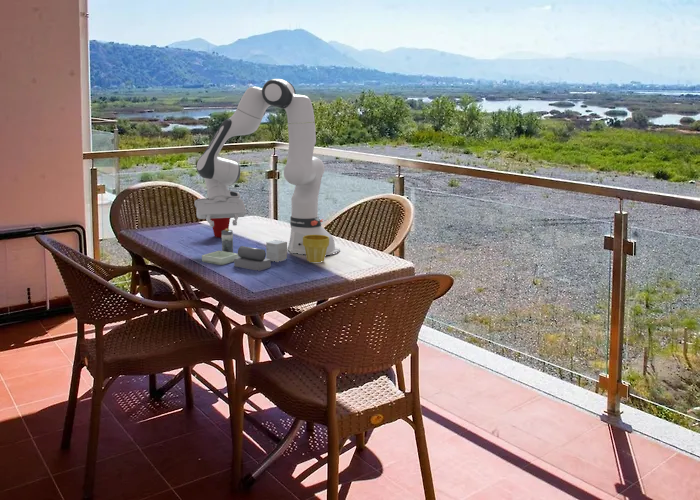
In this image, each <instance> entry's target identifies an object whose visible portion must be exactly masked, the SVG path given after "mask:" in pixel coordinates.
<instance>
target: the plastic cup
mask: <svg viewBox="0 0 700 500" xmlns="http://www.w3.org/2000/svg"><path fill="white" fill-rule="evenodd" d="M210 220H211V221H214V226H213V227H212V231H213V236H214V237H215V238H221V239H222V230H225V229H229V228H230V220H231V218H211V219H210ZM229 230H230V229H229Z"/></svg>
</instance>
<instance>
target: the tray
mask: <svg viewBox="0 0 700 500" xmlns="http://www.w3.org/2000/svg"><path fill="white" fill-rule="evenodd" d="M238 257H239V256H238V252H237V253H236V252H233V253H231V252H225V251H222V250H216V251H212V252H209V253H205V254H202V255H201V262H202V263H207V264H212V265H213V264H214V265H219V266H223V265H227V264H230V263H234V259H235V258H238Z"/></svg>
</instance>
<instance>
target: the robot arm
mask: <svg viewBox="0 0 700 500" xmlns="http://www.w3.org/2000/svg"><path fill="white" fill-rule="evenodd" d="M296 93H297V92H296V88H295V87H294V85H293V84H292V83H291V82H290V81H288V80H285V79H282V78H272V79H269V80H268V81H266V82H265V83H264V85H263V87H262V88H261V87H259V86H250V87H248V88H247V89H246V90H245V92H244V93H243V95H242V96H241V99H240V101H239V102H238V105H237V107H236V109H235V111H234V113H233V114H232V115H231V116H230V117H229V118H226V119H224V120H223V121H222V122H221V124H220V126H219V127H218V128H217V130H216V132H215V133H214V135H213V137H212V139H211V140H210V142H209V144H208V146H207V147H206V149H205V150H204V152H203V153H202V154H201V155H200V157H199V158H198V160H197V162H196V170H197V173H198V175H199V176H200V177H201V178H202V179H204V182H205V183H204V184H205V188H206V189H207V191H206V193H207V198H206V197H205V198H197V199H196V200H194V204H193V205H194V207H195V208H196V218H197V219H199V220H206V222H207V223H208V224H209V227H212V228H213V226H214V221H211V218H230V219H232V218H234V219H233V220H232V222H231V223H232V226H237V225H238V219H239V218H244V217H245V216H246V213H247V209H246V206H245V202H244V200H243V199H242V198H241V194H240V192H237V191H233V190H230V189H228V188H229V187H231V186H233V185H234V184H235V183H237V181H239V179H240V178H241V167H240V165H239V163H238V162H237V161H235V160H232V159H228V158H224V157H220V156H218V155H219V154H220V152H221V150H222V148H223V147H224V145H225V143H226V142H227V141H228V140H229V139H230V138H234V137H237V136H247V135H251V134H253V133H254V132H257V130H258V129H259V127H260V125H261V122H262V120H263V117H264V115H265V112H266V111H267V109H268V108H269V107H274V108H279V109H283V110H285V113H286V116H287V131H288V151H287V158H286V162H285V166H284V168H283V176H284V179H285V180H286V182H287V183H288V184H291V185H294V186H295V187H294V191H293V193H292V195H291V199H290V200H291V201H290V202H291V204H290V205H291V208H290V209H291V210H290V211H291V216H290V221H289V223H290V236H289V243H288V245H287V251H289V253H290V254H293V253H298V254H297V255H303V254H306V252H305V246H303V237H304V236H306V235H325V236H328V237H329V246H328V247H327V250H326V254H325V255H330V254H333V253H336V252H339V251H340V252H341V249H340V248H339V247H336V246H335V245H336V244H335V239H334V236H333V235H332V234H331V233H330V232H328V231H327V230H326V229H325V228H324V227H323V226H322V223H323V222H324V221H323V220H324V219H323V218H322V219H320V217H319V213H318V212H319V194H320V188H321V183H322V178H323V175H324V174H325V169H326V167H325V163H324V162H323V160H322V159H320V158H319V157H316V156H314V149H315V146H316V142H317V134H316V122H315V121H316V120H315V113H314V106H313V104H312V103H313V102H312V100H311V98H309V96H307V95H303V94H296ZM340 252H339V253H340ZM336 254H337V253H336ZM330 256H331V255H330Z"/></svg>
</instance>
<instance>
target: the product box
mask: <svg viewBox="0 0 700 500" xmlns="http://www.w3.org/2000/svg"><path fill="white" fill-rule="evenodd" d="M265 245H266V246H265V247H266V248H265V249H266V250H265V252H266V257H265V258H266V259H271V262H274V261H275V263H280V262H283V261H286V260H285V259H287V260H288V242H287V241H283V240H280V239H279V240H278V239H273V240H269V241H266V243H265ZM279 261H280V262H279Z"/></svg>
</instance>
